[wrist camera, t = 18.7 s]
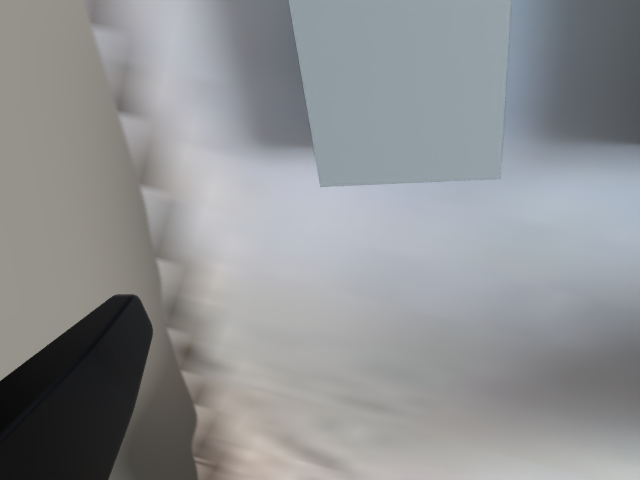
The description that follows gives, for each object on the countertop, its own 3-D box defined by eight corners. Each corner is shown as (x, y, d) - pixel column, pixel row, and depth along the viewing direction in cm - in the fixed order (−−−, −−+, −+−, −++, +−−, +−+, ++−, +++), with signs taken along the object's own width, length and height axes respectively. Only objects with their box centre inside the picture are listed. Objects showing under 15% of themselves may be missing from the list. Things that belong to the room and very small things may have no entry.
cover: (491, 134, 21) (500, 178, 18) (331, 144, 22) (320, 187, 20) (501, -81, 16) (515, -57, 14) (301, -54, 18) (283, -29, 15)
